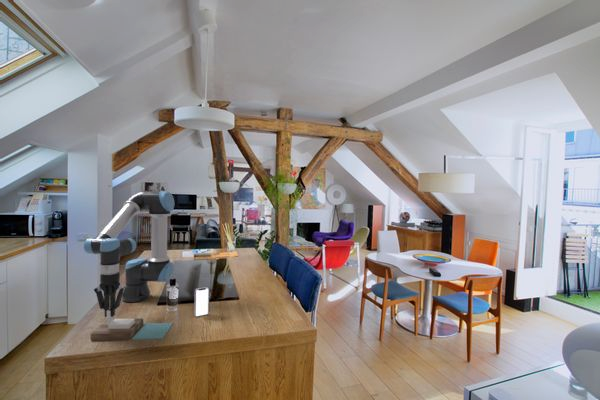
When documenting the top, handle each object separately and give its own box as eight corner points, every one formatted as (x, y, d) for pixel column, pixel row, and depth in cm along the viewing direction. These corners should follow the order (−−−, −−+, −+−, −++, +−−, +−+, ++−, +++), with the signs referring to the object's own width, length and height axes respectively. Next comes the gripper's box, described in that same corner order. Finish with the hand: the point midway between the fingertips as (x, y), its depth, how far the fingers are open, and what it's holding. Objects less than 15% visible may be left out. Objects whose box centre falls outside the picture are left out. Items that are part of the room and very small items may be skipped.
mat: (145, 324, 150) (145, 323, 150) (172, 323, 151) (172, 322, 151) (131, 339, 135) (131, 338, 135) (162, 339, 136) (162, 338, 136)
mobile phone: (208, 313, 164) (208, 286, 163) (209, 314, 163) (209, 287, 162) (193, 317, 160) (194, 288, 159) (194, 317, 159) (194, 289, 158)
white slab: (114, 322, 144) (114, 318, 144) (134, 322, 145) (134, 318, 145) (108, 328, 138) (108, 324, 138) (129, 328, 139) (129, 324, 139)
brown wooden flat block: (108, 324, 148) (108, 318, 148) (143, 324, 150) (143, 318, 150) (90, 340, 133) (90, 333, 133) (129, 339, 135) (129, 333, 135)
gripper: (90, 275, 135) (90, 327, 136) (121, 275, 136) (120, 326, 138) (99, 270, 143) (99, 319, 144) (128, 270, 144) (128, 319, 145)
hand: (109, 323), depth 141 cm, fingers closed
